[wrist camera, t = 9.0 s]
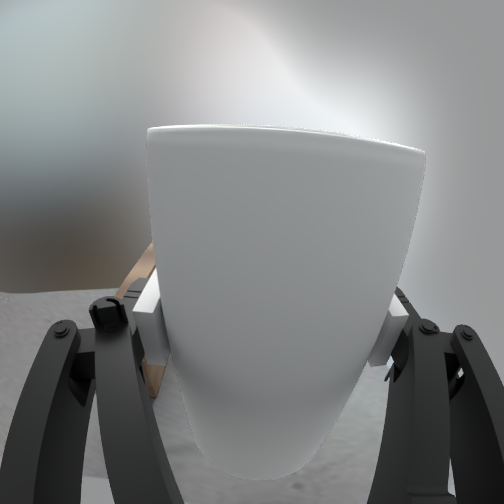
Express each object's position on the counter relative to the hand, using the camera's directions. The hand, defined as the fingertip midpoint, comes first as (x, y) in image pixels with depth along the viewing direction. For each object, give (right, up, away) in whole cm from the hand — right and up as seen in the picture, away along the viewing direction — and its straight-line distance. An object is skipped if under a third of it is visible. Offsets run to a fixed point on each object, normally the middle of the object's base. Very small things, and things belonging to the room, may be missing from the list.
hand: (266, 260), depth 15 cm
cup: (0, -10, 0) cm, 10 cm away
